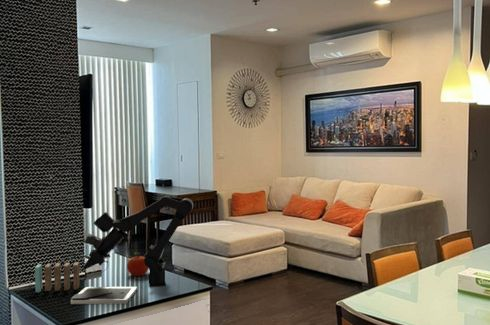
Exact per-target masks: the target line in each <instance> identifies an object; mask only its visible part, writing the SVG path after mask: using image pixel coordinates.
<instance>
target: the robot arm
mask: <svg viewBox="0 0 490 325" xmlns="http://www.w3.org/2000/svg"><path fill="white" fill-rule="evenodd" d="M165 207H168V208H171V209H174V210H175V213H174V216H173V218H172V219H171V221H170V222H169V224H168V225H167V227H166V229H165V231H164V232H163V234H162V236H161V237H160V238H159V240H158V241H157V243H156V244H155V245H153V244H151V245H150V246H149V248H148V250H147V251H146V253H145V254H144V256H143V257H145V259H144V263H145V265H146V266H147V267H148V270H149V272H148V273H147V279H148V281H147V282H148V284H149V287H162V286H167V284H166V268H165V265H166V261H165V260H164V259H163V258H162V257H163V252H164V251H165V250H164V249H165V248H166V246H167V244H168V243H169V241H170V240H171V238H172V237H173V235H174V234H175V232H176V231H177V229H178V227H179V226H180V224H181V222H183V220H184V219H186V217H187V216H188V215H189V214H190V213H191V212H192V210H193V208H194V202H193V200H192V199H191V198H187V197H185V198H179V197H174V196H169V195H164V196H163V197H161V198H160V199H158V200H157V201H155V202H153V203H152V204H150V205H149V206H147V207H145V208H144V209H142V210H140V211H137V212H134V213H132V214H129V215H127V216H125V217H124V218H122V219H116V220H115V219H113V217H112V216H111V215H110V214H109V213H108V212H107V211H106V212H104V213H103V214H101V215H100V216H99V217H98V218H97V219H95V221H94V222H93V223H92V224H93V226H94V225H95V227H96V228H98V229H99V231H101V233H107V234H106V236H103V237H102V238H101V237H99V236H96V235H94V234H91V233H88V234H87V236H86V238H85V240H84V243H85V244H86V245H87V244H88V245H91V246H92V247H93V248H94V249H91V250H90V251H89V254H88V256H89V258H88V259H87V261H86V262H85V263H84V265H83V267H82V268H83V269H84V270H86V269H89V268H92V267H93V266H96V265H99V266H102V265H103V264H104V263H105V258H106V257H107V256H108V255H109V254H110V252H111V251H113V250H114V249H115V248H116V246H117V245H118V244H119V243H120V242H122V240H124V239H125V240H126V241H129V239H130V233H129V232H131V231H132V230H133V229H134V228H135V227H137V226H138V225H139V224H140V223H141V222H143V220H145V219H147V218H149V217H150V216H152V215H153V214H155V213H157V212H158V211H160V210H161V209H164V208H165Z"/></svg>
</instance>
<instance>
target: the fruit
mask: <svg viewBox="0 0 490 325" xmlns="http://www.w3.org/2000/svg"><path fill="white" fill-rule="evenodd" d="M133 254H134V255H135V256H132V257H130V258H129V259H128V260H127V264H126V267H127V271H128V273H129V274H130V275H131V276H134V277H140V276H141V275H142V276H144V275H146V273H147V272H148V270H149V268H148V267H147V266H146V265H145V263H144V259H145V257H146V256H140V255H141V252H139V251H136V252H133Z"/></svg>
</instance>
